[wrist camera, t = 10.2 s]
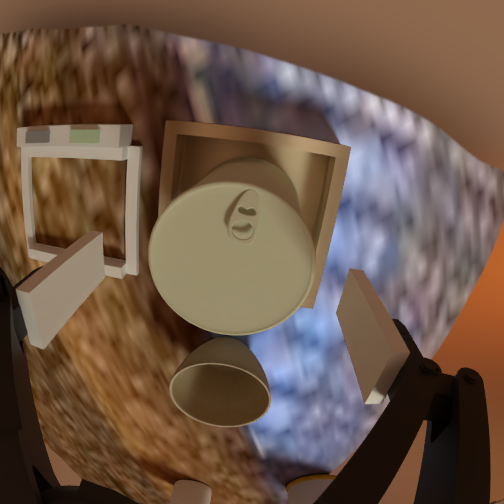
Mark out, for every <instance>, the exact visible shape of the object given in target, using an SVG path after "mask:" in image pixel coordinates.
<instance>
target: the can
mask: <svg viewBox="0 0 504 504" xmlns="http://www.w3.org/2000/svg"><path fill="white" fill-rule="evenodd" d="M148 260H149V267H150V272H151V275H152V278H153V281H154V283H155V286H156V288H157V290H158V291H159V293H160V295H161V296H162V298H163V299H164V300H165V302H166V303H167V304H168V305H169V306H170V307H171V308H172V309H173V310H174V311H175V312H176V313H177V314H178V315H179V316H181V317H182V318H183V319H185V320H186V321H188V322H189V323H191V324H193V325H195V326H197V327H199V328H202V329H204V330H207V331H210V332H214V333H218V334H224V335H249V334H255V333H259V332H262V331H265V330H268V329H271V328H273V327H275V326H277V325H279V324H280V323H282V322H284V321H285V320H286V319H288V318H289V317H290V316H291V315H292V314H294V313H295V312H296V311H297V310H298V308H299V307H300V306H301V305H302V303H303V302H304V301H305V299H306V297H307V295H308V294H309V291H310V289H311V287H312V284H313V280H314V276H315V271H316V253H315V247H314V243H313V240H312V236H311V234H310V231H309V229H308V227H307V225H306V224H305V222H304V219H303V216H302V213H301V209H300V201H299V196H298V193H297V190H296V188H295V186H294V184H293V183H292V181H291V180H290V178H289V177H288V176H287V175H286V174H285V173H284V172H283V171H282V170H281V169H280V168H278V167H277V166H275V165H274V164H272V163H270V162H268V161H265V160H262V159H258V158H253V157H239V158H233V159H230V160H227V161H224V162H222V163H220V164H219V165H217V166H215V167H214V168H213V169H212V170H210V171H209V172H208V173H207V174H206V176H205V177H204V178H203V179H202V180H201V181H200V182H198V183H197V184H196V185H194V186H193V187H192V188H190V189H188V190H186V191H185V192H183V193H181V194H180V195H178V196H177V197H176V198H175V199H173V200H172V201H171V202H170V203H169V204H168V205H167V206H166V207H165V209H164V210H163V211H162V212H161V214H160V215H159V217H158V219H157V221H156V223H155V225H154V227H153V230H152V232H151V236H150V241H149V248H148Z"/></svg>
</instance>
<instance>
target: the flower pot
mask: <svg viewBox="0 0 504 504" xmlns="http://www.w3.org/2000/svg"><path fill="white" fill-rule="evenodd" d="M169 392H170V396H171V398H172V400H173V402H174V403H175V405H176V406H177V407H178V408H179V409H180V410H181V411H182V412H183V413H185V414H186V415H188V416H189V417H191V418H193V419H194V420H197V421H199V422H202V423H205V424H208V425H212V426H218V427H238V426H243V425H247V424H250V423H252V422H255V421H257V420H258V419H260V418H261V417H262V416H264V415H265V414H266V413H267V411H268V409H269V407H270V404H271V395H270V389H269V384H268V381H267V378H266V375H265V373H264V370H263V368H262V366H261V364H260V363H259V361H258V359H257V358H256V356H255V355H254V354H253V352H252V351H251V350H250V349H249V348H248V347H247V346H246V345H245V344H244V343H242V342H241V341H239V340H237V339H235V338H231V337H218V338H215V339H212V340H210V341H208V342H206V343H204V344H202V345H201V346H199V347H198V348H196V349H195V350H194V351H193V352H192V353H191V354H190V355H189V356H188V357H187V358H186V359H185V360H184V361H183V362H182V363H181V365H180V366H179V368H178V369H177V370H176V372H175V374H174V375H173V377H172V379H171V382H170V386H169Z"/></svg>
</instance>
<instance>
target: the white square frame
mask: <svg viewBox="0 0 504 504" xmlns="http://www.w3.org/2000/svg"><path fill="white" fill-rule="evenodd" d="M132 130H133V124H60V125H40V126H28V127H21V128H17V147H21V171H22V197H23V211H24V222H25V231H26V240H27V247H28V254H29V258H32V259H36V260H40V261H44V262H49V261H51V260H52V259H53V258H54V257H56V256H57V255H58V254H60V253H61V252H62V251H64V250H65V248H60V247H55V246H50V245H46V244H41V243H36V234H35V225H34V213H33V197H32V157H60V158H86V159H105V160H120V161H122V160H126V159H128V160H127V178H126V213H125V240H126V260H122V259H117V258H111V257H106V256H104V271H105V275H106V276H111V277H116V278H120V279H122V278H123V277H124V276H125V275H126V273H127V274H132V275H138V273H139V200H140V178H141V163H142V149H143V146H131V141H132Z"/></svg>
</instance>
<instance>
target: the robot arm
mask: <svg viewBox="0 0 504 504" xmlns="http://www.w3.org/2000/svg"><path fill="white" fill-rule="evenodd" d="M104 278H105V271H104V256H103V234H102V232H97V231H89V232H88V233H87V234H85V235H84V236H82V237H81V238H80V239H78V240H77V241H76V242H74V243H73V244H72V245H70V246H69V247H68V248H66V249H65V250H64V251H62V252H61V253H60V254H58V255H57V256H56V257H54V258H53V259H52V260H51V261H49V262H48V263H47V264H45V265H44V266H42V267H39V268H37V269H35V270H33V271H32V272H31V273H30V274H28V276H26V277H25V278H23V280H21V281H20V282H19V283H17V284H16V285H15V286H14V287H13V288H12V287H11V285H10V283H9V281H8V279H7V278H6V275H4V273H3V272H2V270H1V269H0V504H139V503H137V502H135V501H133V500H131V499H129V498H127V497H126V496H124V495H122V494H120V493H119V492H117V491H115V490H112V489H109V488H106V487H103V486H100V485H97V484H94V483H92V482H89V481H86V480H84V479H82V481H81V484H80V486H61V485H60V484H59V482H58V480H57V478H56V476H55V475H54V472H53V469H52V466H51V463H50V460H49V457H48V454H47V450H46V447H45V444H44V440H43V437H42V433H41V429H40V425H39V421H38V417H37V413H36V408H35V404H34V399H33V394H32V389H31V383H30V377H29V371H28V364H27V357H26V349H25V344H24V341H23V338H24V337H25V336H26V335H27V334H28V337H29V340H30V343H31V345H33V346H36V347H39V348H41V349H45V348H46V346H47V345H48V344H49V343H50V341H51V340H52V339H53V338H54V336H55V335H56V334H57V333H58V331H59V330H60V329H61V328H62V327H63V325H64V324H65V323H66V322H67V321H68V319H69V318H70V317H71V316H72V315H73V313H74V312H75V311H76V310H77V309H78V308H79V306H80V305H81V304H82V303H83V302H84V301H85V300H86V298H87V297H88V296H89V295H90V294H91V293H92V292H93V291H94V289H95V288H96V287H97V286H98V285H99V284H100V283H101V282H102V280H103V279H104ZM336 314H337V317H338V320H339V323H340V326H341V329H342V332H343V335H344V338H345V342H346V345H347V348H348V351H349V354H350V357H351V360H352V364H353V367H354V370H355V373H356V377H357V380H358V383H359V387H360V390H361V393H362V397H363V400H364V404H381V403H382V402H383V400H384V398H385V397H386V395H387V393H388V396H389V399H390V402H389V404H388V405H387V407H386V408H385V410H384V412H383V413H382V415H381V416H380V418H379V419H378V421H377V422H376V424H375V425H374V427H373V428H372V430H371V431H370V433H369V434H368V435H367V437H366V438H365V440H364V441H363V442H362V444H361V445H360V447H359V448H358V449H357V451H356V452H355V453H354V455H353V456H352V457H351V459H350V460H349V461H348V462H347V464H346V465H345V466H344V468H343V469H342V470H341V471H340V473H339V474H338V475H337V476H336V477H335V479H334V480H333V481H332V482H331V483H330V485H329V486H328V487H327V488H326V489H325V490H324V492H323V493H322V494H321V495H320V496H319V497H318V498H317V500H316V501H315V502H314V503H313V504H378V503H379V501H380V500H381V498H382V497H383V495H384V493H385V492H386V490H387V489H388V487H389V485H390V484H391V482H392V480H393V478H394V477H395V475H396V473H397V472H398V470H399V468H400V466H401V464H402V462H403V461H404V459H405V457H406V455H407V453H408V451H409V449H410V447H411V445H412V443H413V441H414V439H415V437H416V435H417V433H418V431H419V429H420V427H421V425H422V422H423V420H427V430H426V438H425V445H424V452H423V459H422V465H421V470H420V476H419V481H418V486H417V491H416V495H415V500H414V504H489V503H490V440H489V425H488V414H487V405H486V398H485V390H484V383H483V380H482V377H481V376H480V375H479V373H478V372H476V371H475V370H472V369H470V368H461V369H460V370H459V371H458V372H457V374H456V375H455V376H452V375H448V374H443V373H442V371H441V368H440V367H439V365H438V364H437V363H436V362H434V361H432V360H431V359H428V358H423V356H422V354H421V352H420V351H419V349H418V347H417V345H416V344H415V342H414V341H413V338H412V337H411V335H409V332H408V330H407V328H406V327H405V325H404V324H402V323H401V322H400V321H399V320H398V319H391V317H390V315H389V313H388V312H387V310H386V308H385V306H384V305H383V303H382V301H381V300H380V298H379V296H378V294H377V293H376V291H375V289H374V288H373V286H372V284H371V283H370V281H369V279H368V278H367V276H366V274H365V273H364V271H363V270H357V269H349V273H348V276H347V279H346V283H345V286H344V289H343V293H342V296H341V299H340V302H339V305H338V308H337V311H336Z"/></svg>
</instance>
